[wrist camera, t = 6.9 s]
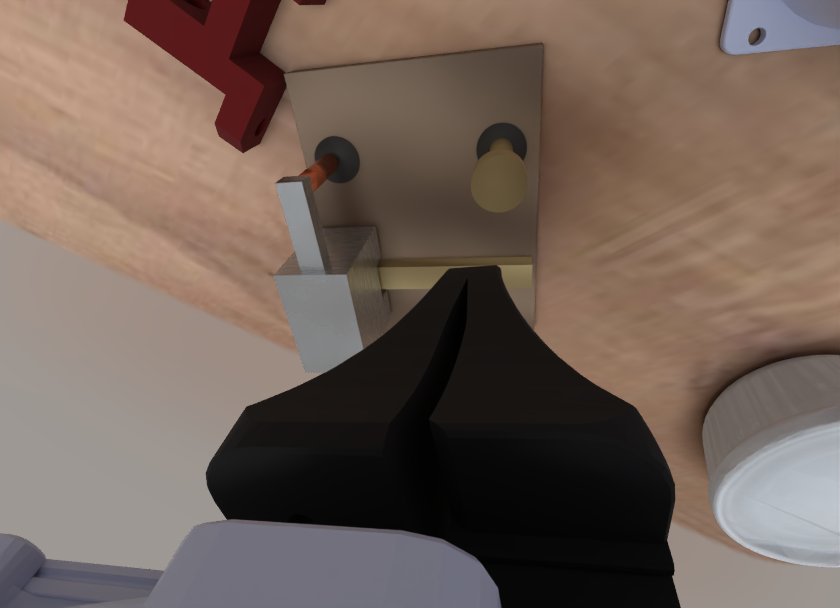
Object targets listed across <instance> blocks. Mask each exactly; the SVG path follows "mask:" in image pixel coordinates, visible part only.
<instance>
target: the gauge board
mask: <svg viewBox="0 0 840 608" xmlns="http://www.w3.org/2000/svg"><path fill="white" fill-rule="evenodd" d="M542 64H543V44H542V43H535V44H526V45H517V46H508V47H499V48H491V49H482V50H473V51H464V52H455V53H447V54H438V55H429V56H420V57H411V58H402V59H394V60H385V61H376V62H367V63H358V64H350V65H341V66H332V67H323V68H314V69H305V70H297V71H292V72H288V73H285V74H284V77H285V81H286V85H287V89H288V93H289V97H290V101H291V105H292V109H293V114H294V118H295V122H296V126H297V130H298V134H299V138H300V142H301V146H302V150H303V154H304V158H305V162H306V166H307V168H309V167H310V166H311V165H312V164H313V163H315V162H316V161H317V160H318V159H320V158H321V157H322V156H323V155H325V154H330V155H333V156H334V157H335V158H336V159H337V161H338V169H337V170H336V171H335V172H334V173H333V174H332V175H331V176H330V177H329V178H328V179H327V180H326V181H325V182H324V183H323V184H322V185H321V186H320V187H319V188H318V189H317V190H316V191H315V192H314V197H315V201H316V205H317V209H318V213H319V217H320V221H321V225H322V228H333V227H360V226H376V230H377V236H378V242H379V247H380V253H381V258H380V260H379V262H378V264H377V271H378V276H379V282H380V287H381V289H387V293H388V298H389V304H390V310H391V318H390V321H389V323H388V326H387V329H386V331H385V333H386V332H387V331H388V330H390V329H391V328H392V327H393V326H394V325H395V324H397V323H398V322H399V321H400V320H401V319H402V318H403V317H404V316H405V315H406V314H407V313H408V312H409V311H410V310H411V309H412V308H413V307H414V306H415V305H416V304H417V303H418V302H419V301H420V300H421V299H422V298H423V297H424V296H425V295H426V294H427V293H428V291H429V290H430V289H431V288H432V287H433V286H434V285H435V283H436V282H437V281H438V280H439V279H440V278H441V277H442V276H443V274H444V273H445V272H446V271H447V270H448V269H449V268H462V267H475V266H489V265H497V266H498V267H500V268H501V272H502V279H503V282H504V284H505V286H506V289H507V291H508V293H509V295H510V297H511V298H512V300H513V302H514V304H515V305H516V307H517V309H518V310H519V312H520V313H521V315H522V316H523V317H524V319H525V320H526V322H527V323H528V324H529V326H530V327H531V328H532V329H533V331H534V312H535V281H536V250H537V219H538V188H539V157H540V126H541V95H542Z"/></svg>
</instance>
